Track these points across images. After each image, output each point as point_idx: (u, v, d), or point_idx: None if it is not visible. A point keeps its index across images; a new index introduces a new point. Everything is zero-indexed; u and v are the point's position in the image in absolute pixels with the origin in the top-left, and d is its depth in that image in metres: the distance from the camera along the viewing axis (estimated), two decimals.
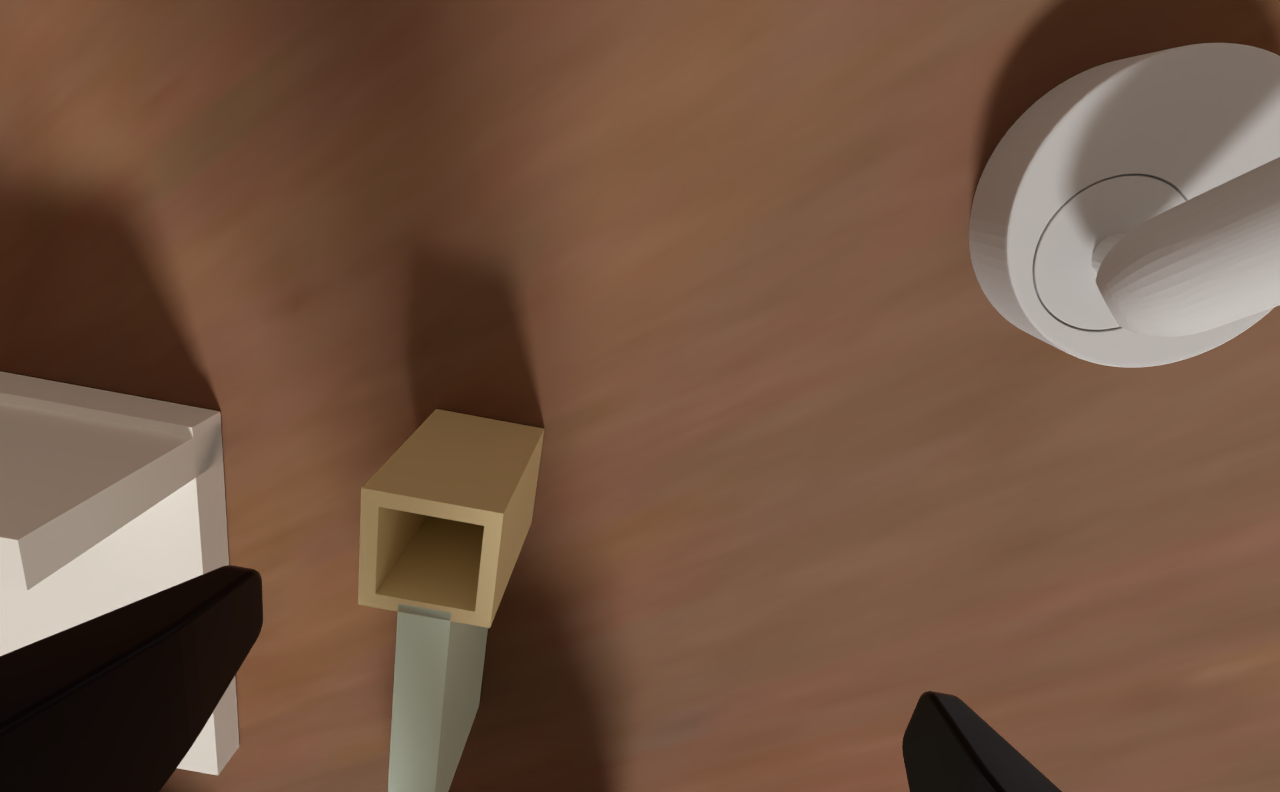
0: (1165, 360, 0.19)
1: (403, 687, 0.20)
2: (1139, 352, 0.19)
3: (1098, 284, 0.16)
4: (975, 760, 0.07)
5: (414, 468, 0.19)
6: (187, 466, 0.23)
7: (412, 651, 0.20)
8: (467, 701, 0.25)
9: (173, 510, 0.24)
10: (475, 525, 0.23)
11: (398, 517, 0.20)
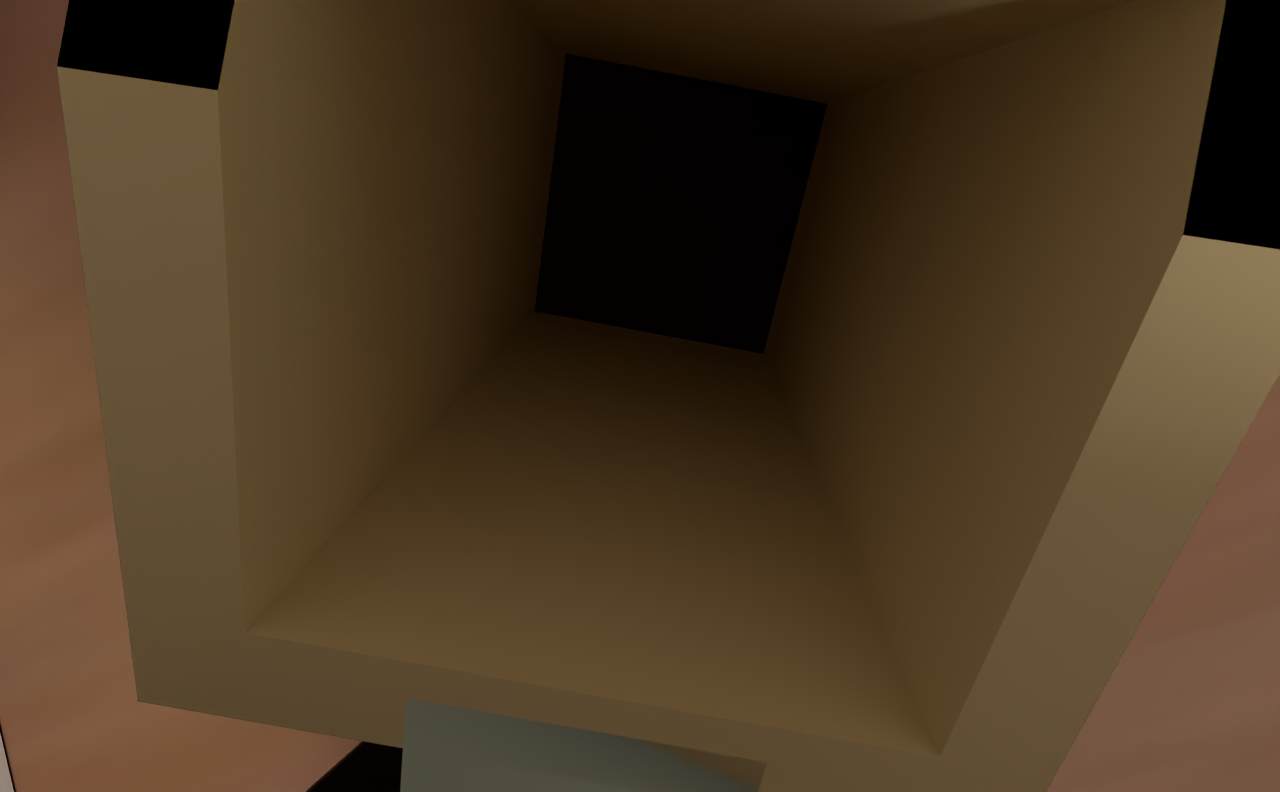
0: None
1: None
2: None
3: None
4: None
5: None
6: None
7: None
8: None
9: None
10: (664, 376, 0.07)
11: (405, 195, 0.04)
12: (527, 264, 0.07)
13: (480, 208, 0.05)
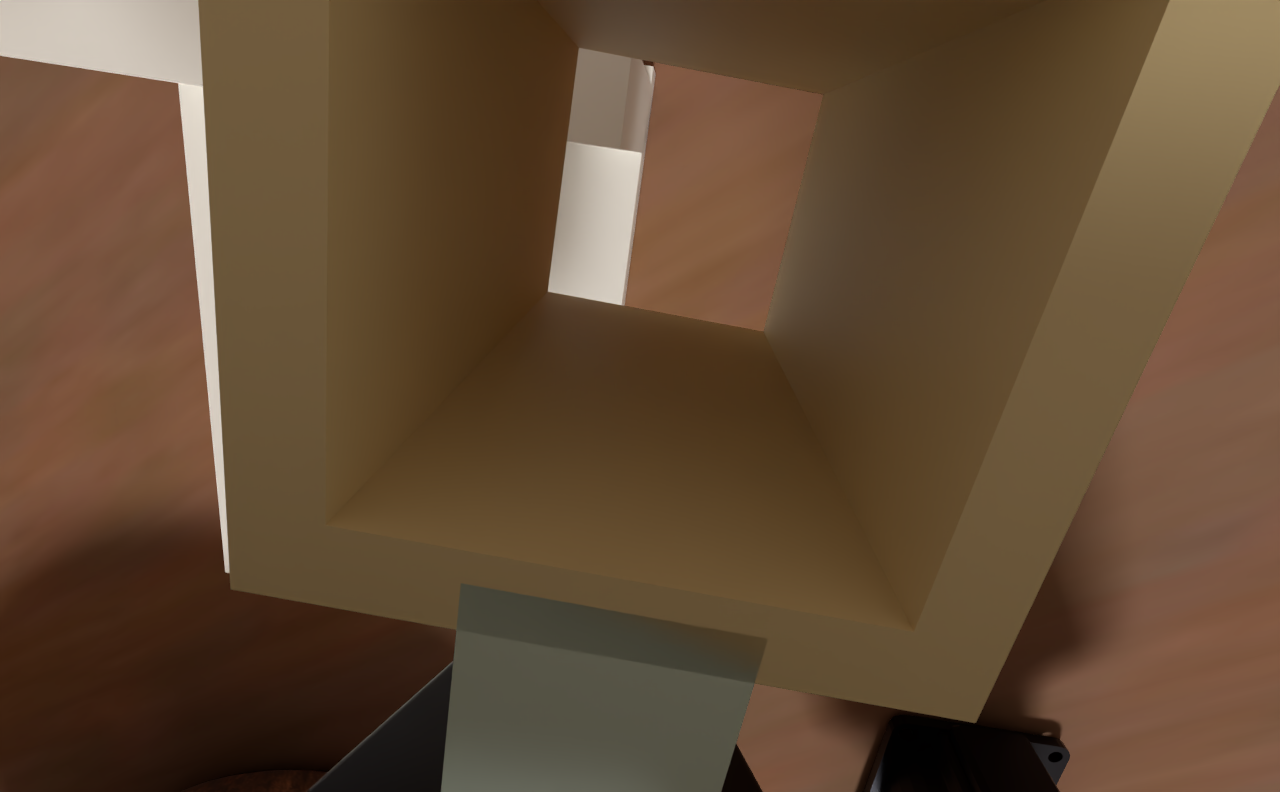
0: None
1: None
2: None
3: None
4: None
5: None
6: (644, 125, 0.16)
7: None
8: None
9: (598, 210, 0.17)
10: (671, 347, 0.07)
11: (450, 163, 0.04)
12: (542, 244, 0.08)
13: (506, 184, 0.06)
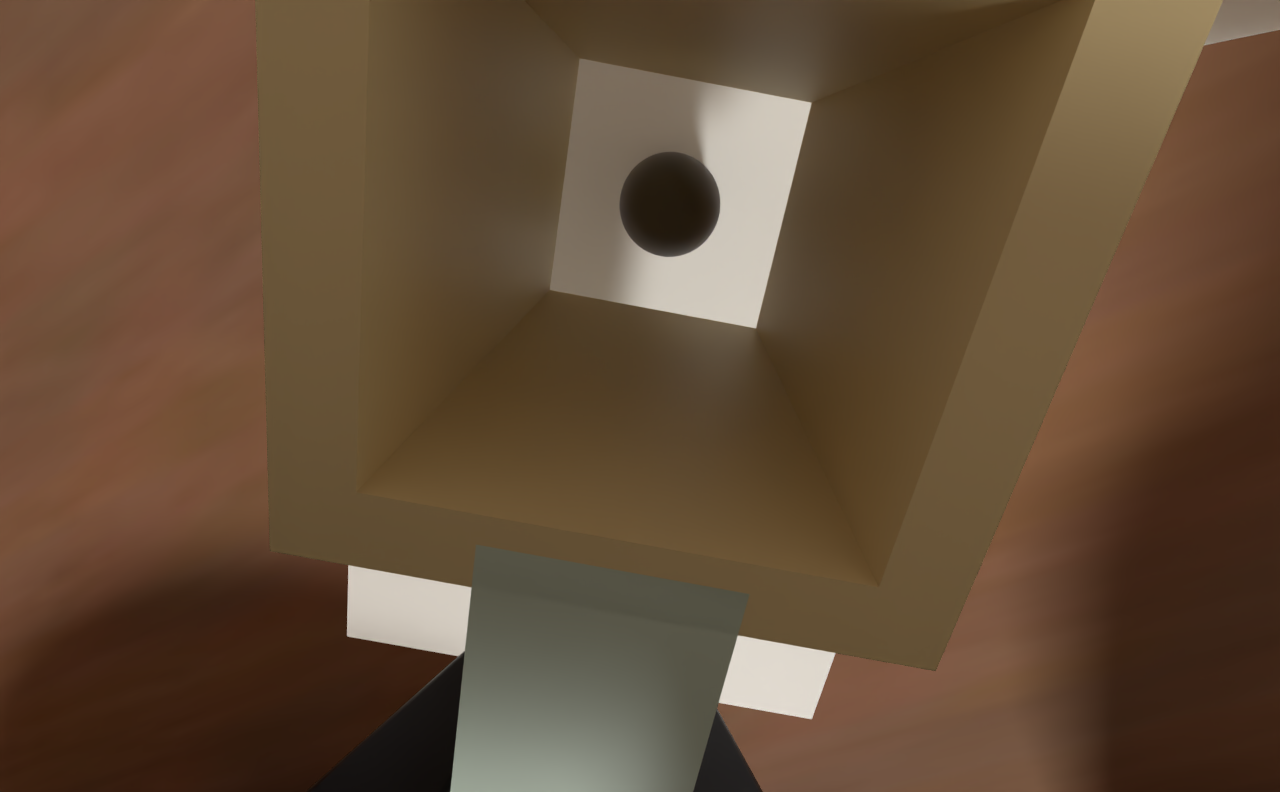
0: None
1: None
2: None
3: None
4: None
5: None
6: None
7: (533, 773, 0.04)
8: None
9: None
10: (667, 341, 0.08)
11: (464, 170, 0.04)
12: (545, 245, 0.08)
13: (512, 189, 0.06)
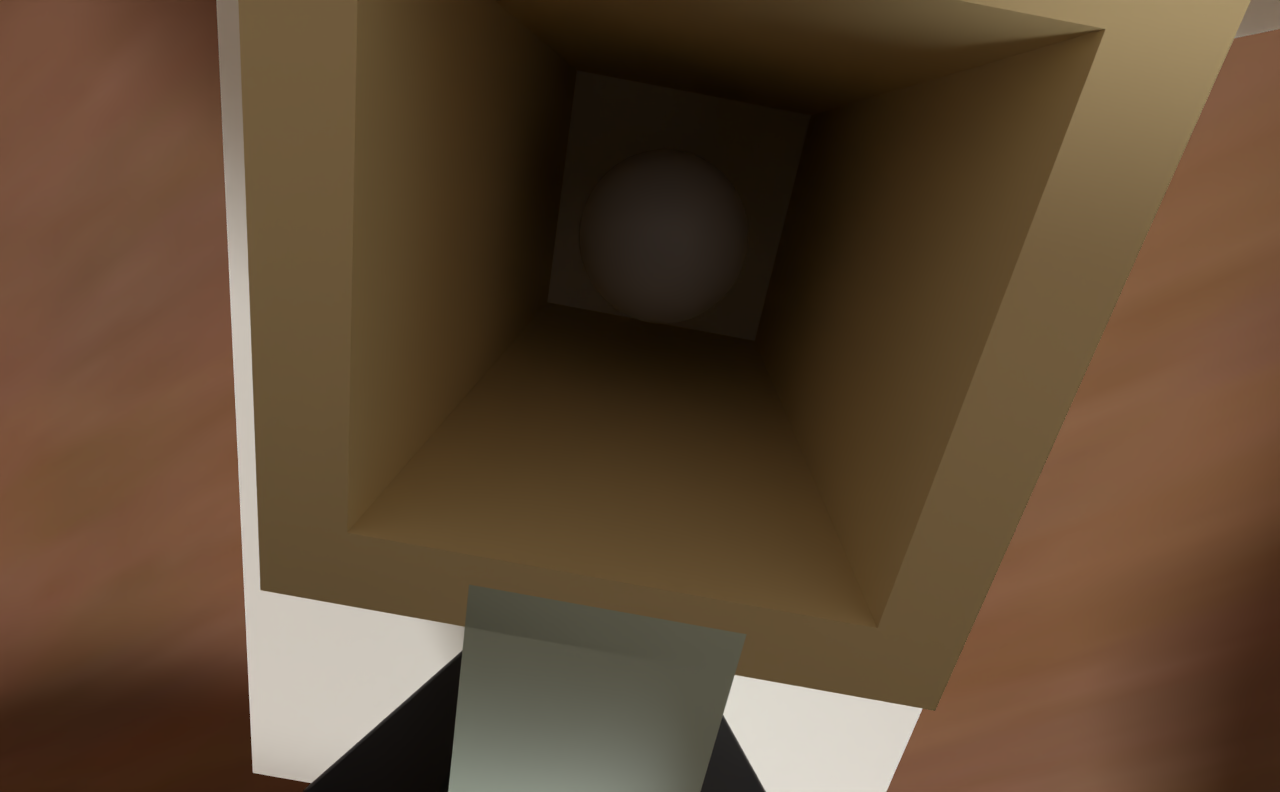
0: None
1: None
2: None
3: None
4: None
5: None
6: None
7: None
8: None
9: None
10: (665, 357, 0.08)
11: (458, 198, 0.04)
12: (542, 259, 0.08)
13: (508, 209, 0.06)
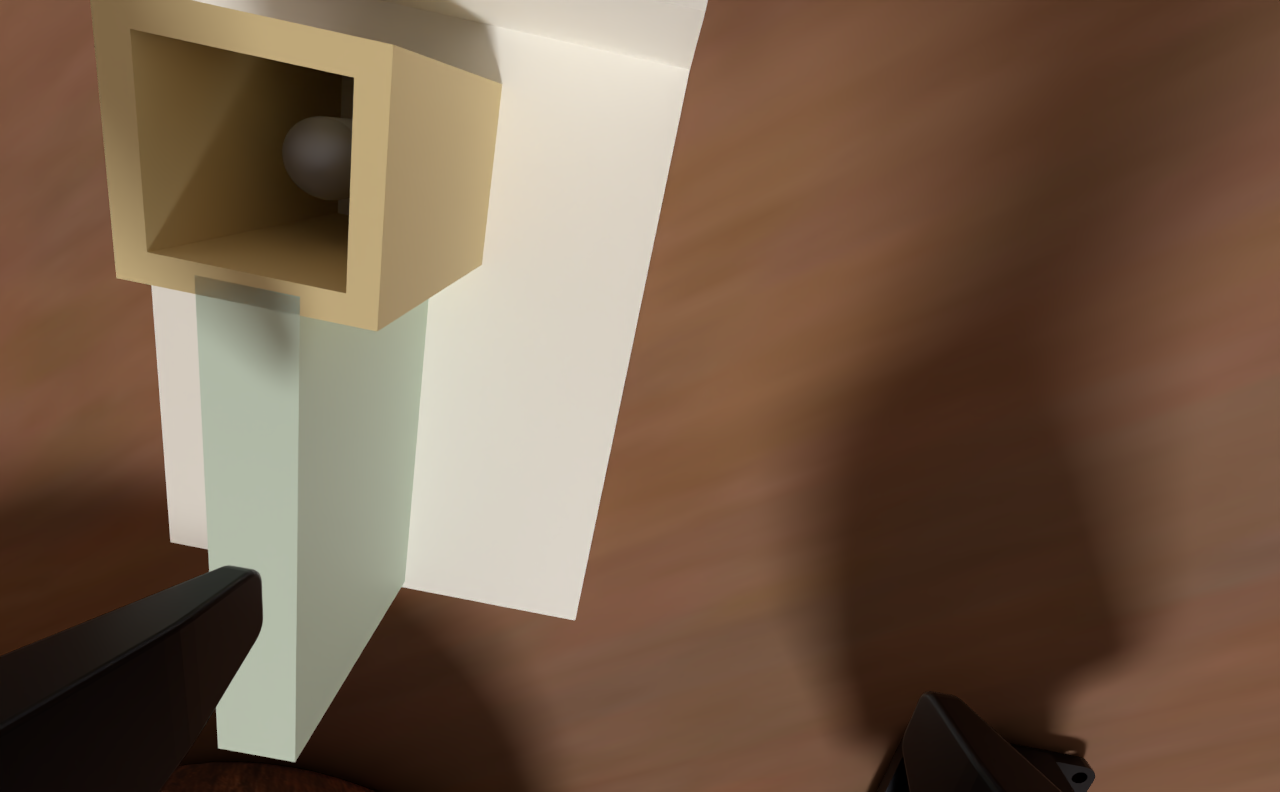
0: None
1: (222, 464, 0.11)
2: None
3: None
4: (975, 760, 0.07)
5: None
6: None
7: (233, 384, 0.10)
8: (374, 550, 0.16)
9: (632, 137, 0.14)
10: None
11: (210, 133, 0.11)
12: None
13: (264, 145, 0.12)
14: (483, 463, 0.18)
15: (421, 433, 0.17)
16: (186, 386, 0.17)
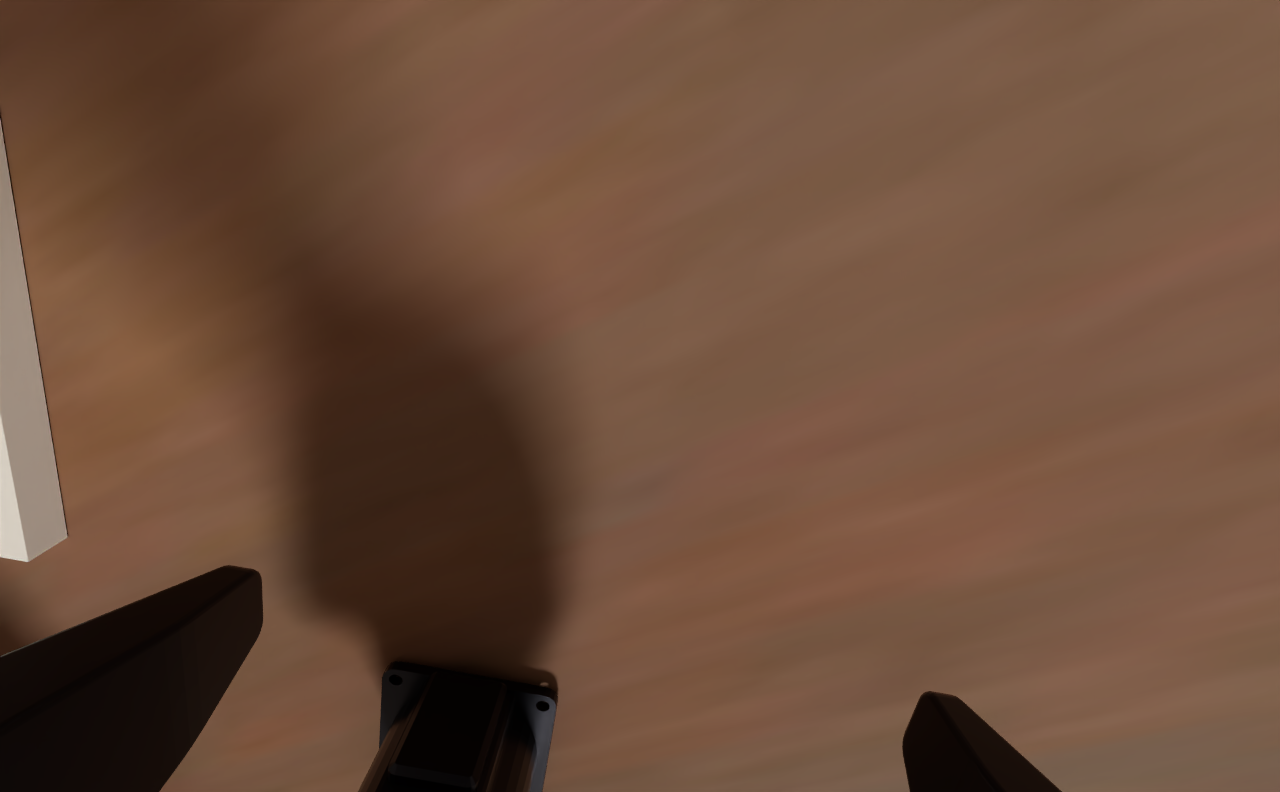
0: None
1: None
2: None
3: None
4: (975, 760, 0.07)
5: None
6: None
7: None
8: None
9: None
10: None
11: None
12: None
13: None
14: None
15: None
16: None
